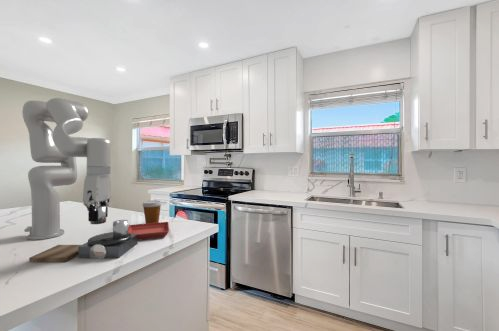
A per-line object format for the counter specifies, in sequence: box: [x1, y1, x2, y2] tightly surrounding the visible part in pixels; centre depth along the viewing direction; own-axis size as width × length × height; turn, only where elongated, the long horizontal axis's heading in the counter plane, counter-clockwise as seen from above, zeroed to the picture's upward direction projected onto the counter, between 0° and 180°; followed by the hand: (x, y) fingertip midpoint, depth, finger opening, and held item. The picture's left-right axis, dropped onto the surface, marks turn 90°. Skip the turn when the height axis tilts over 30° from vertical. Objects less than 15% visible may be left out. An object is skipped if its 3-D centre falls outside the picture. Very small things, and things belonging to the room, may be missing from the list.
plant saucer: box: [128, 221, 170, 241], centre depth 108 cm, size 18×18×3 cm
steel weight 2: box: [112, 219, 129, 239], centre depth 88 cm, size 5×5×6 cm
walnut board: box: [28, 244, 82, 263], centre depth 84 cm, size 12×12×2 cm
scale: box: [77, 231, 139, 260], centre depth 87 cm, size 14×15×6 cm
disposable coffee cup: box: [142, 200, 162, 224], centre depth 125 cm, size 10×10×12 cm
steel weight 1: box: [89, 204, 107, 225], centre depth 88 cm, size 5×5×6 cm
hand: (98, 218), depth 88 cm, fingers closed on steel weight 1, 5 cm apart
